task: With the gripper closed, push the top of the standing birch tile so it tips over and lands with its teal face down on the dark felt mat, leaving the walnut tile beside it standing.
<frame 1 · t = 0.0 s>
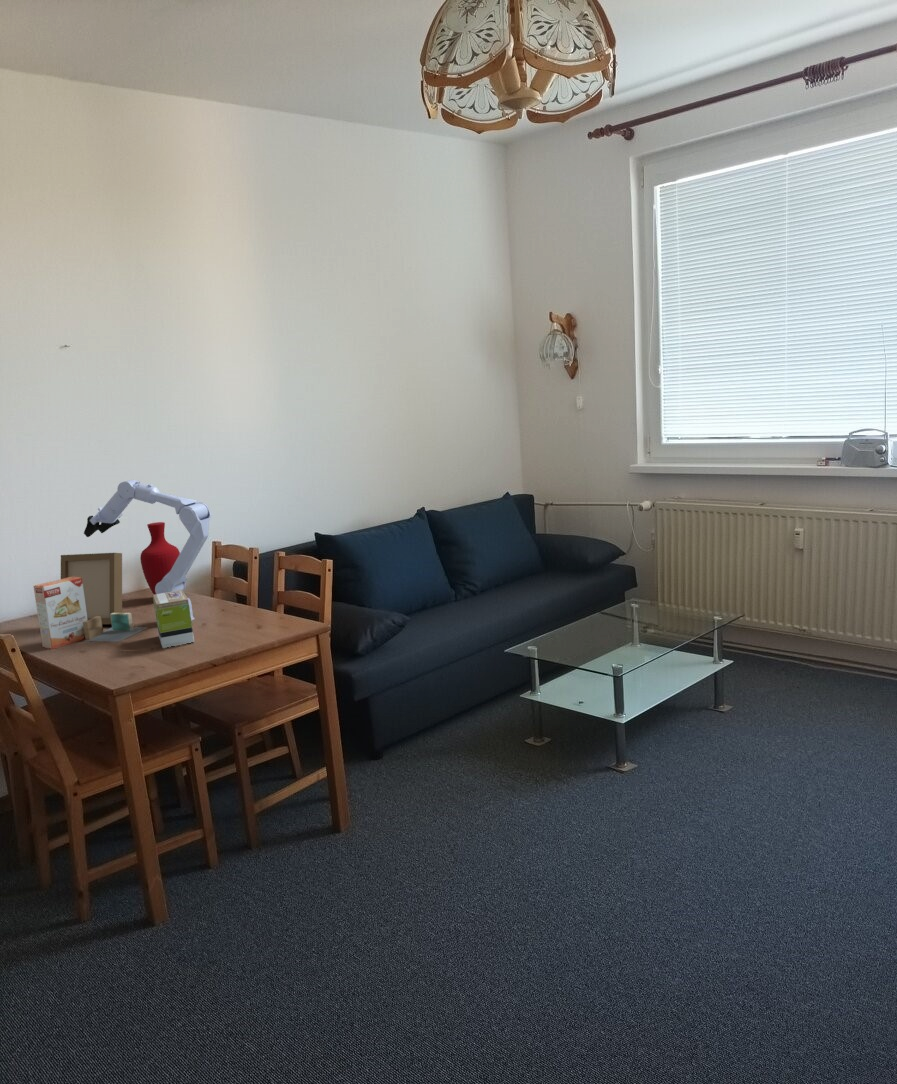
hand: (93, 533, 296), 32 cm above the table, tool tilted 50°, fingers open, 7 cm apart
tile teal: (123, 630, 288), resting on felt mat
vase: (166, 599, 332), on the table
felt mat: (115, 635, 284), on the table
photo frame: (100, 622, 303), on the table, touching felt mat
cracker box: (67, 643, 279), on the table
tile plain: (94, 636, 283), resting on felt mat
tea box: (176, 641, 273), on the table
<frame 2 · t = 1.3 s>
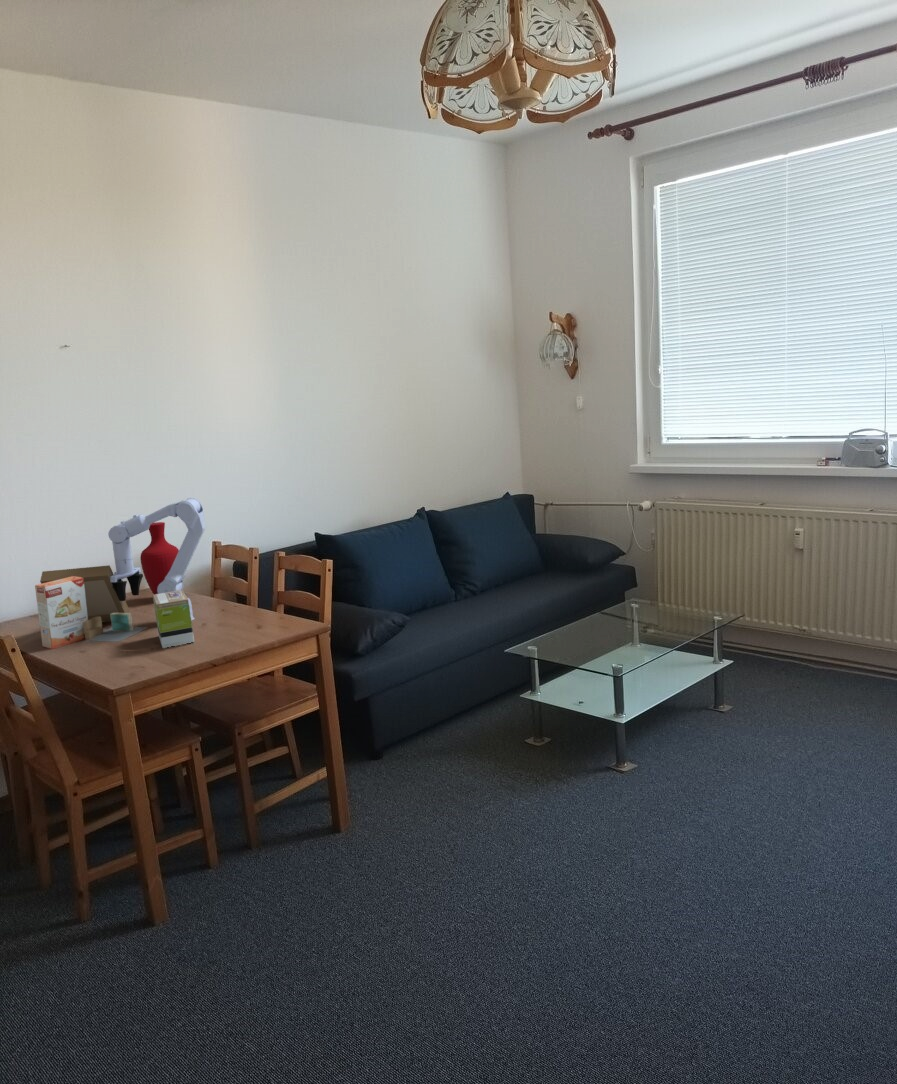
hand: (129, 597, 293), 10 cm above the table, tool pointing down, fingers open, 7 cm apart
photo frame: (98, 604, 305), point 6 cm above the table
everything else where it was.
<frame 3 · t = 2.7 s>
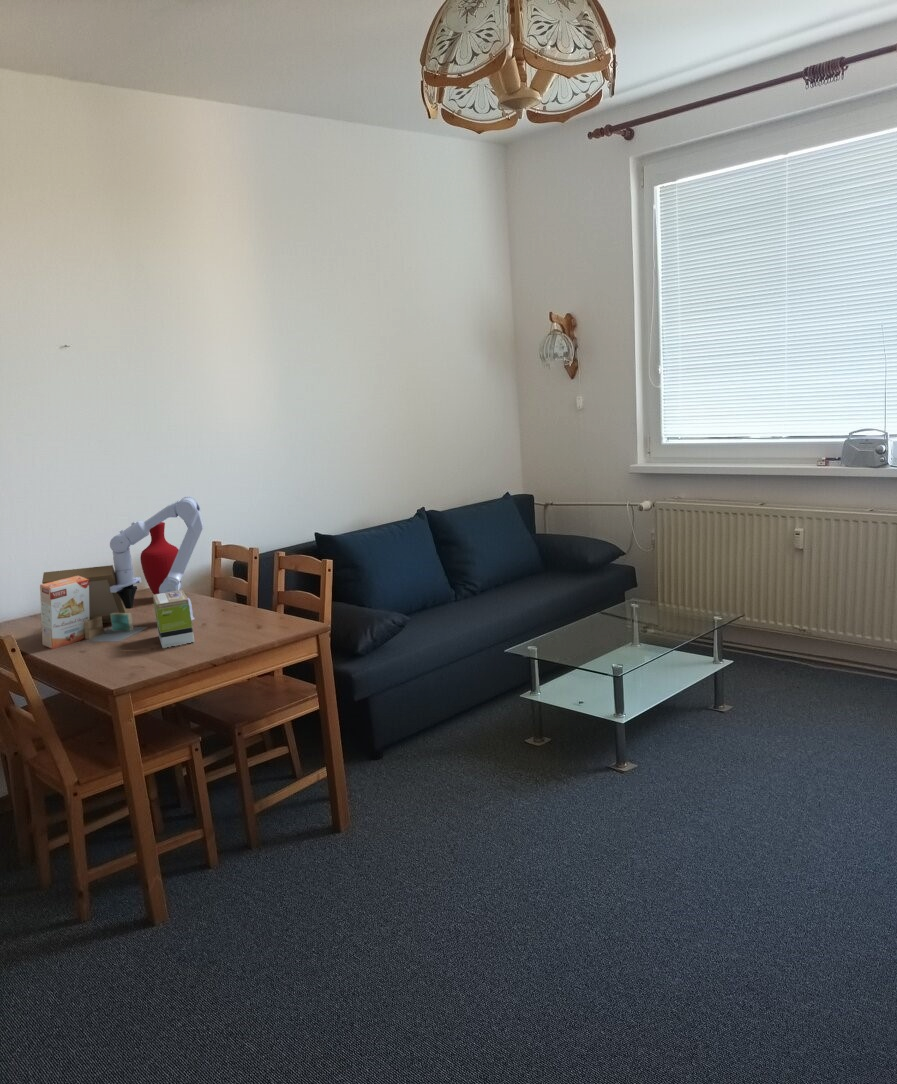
hand: (129, 608, 291), 7 cm above the table, tool pointing down, fingers closed
photo frame: (96, 606, 303), point 6 cm above the table
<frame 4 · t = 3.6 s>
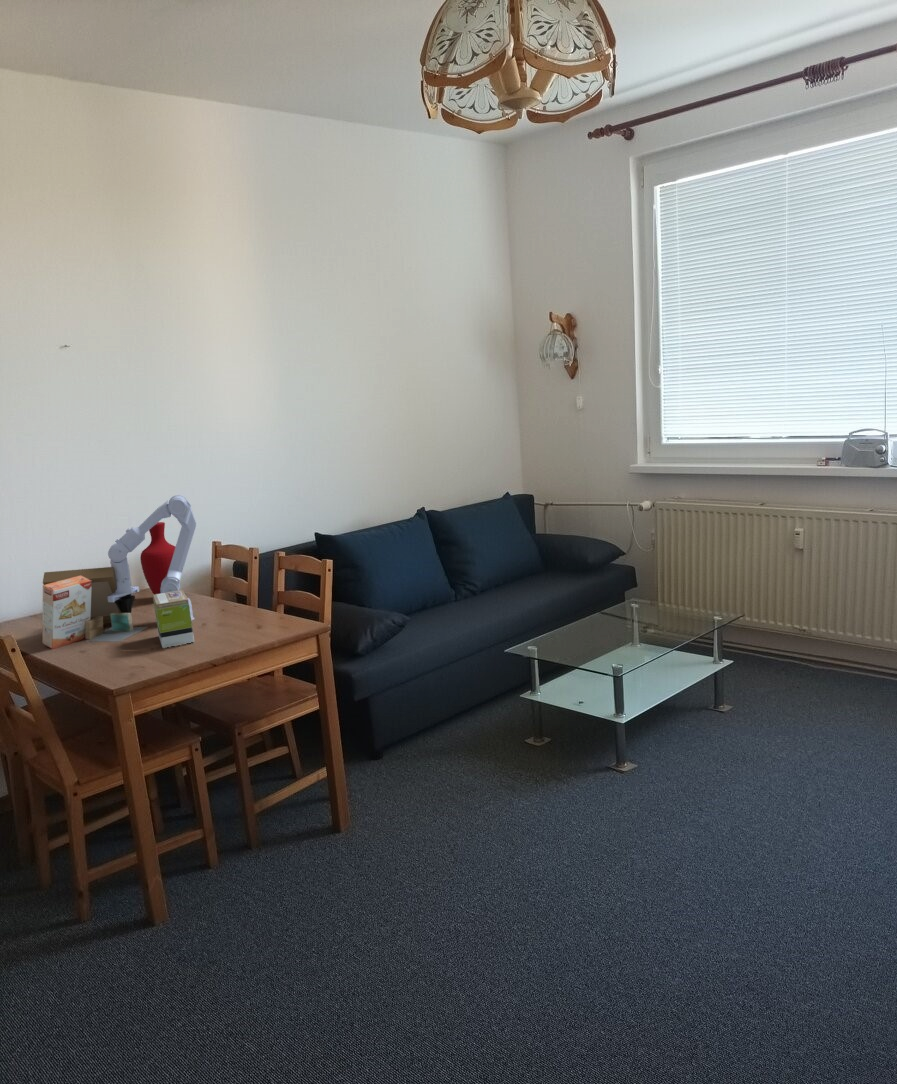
hand: (127, 617, 290), 4 cm above the table, tool pointing down, fingers closed
photo frame: (97, 605, 302), point 6 cm above the table, touching arm, cracker box
cracker box: (67, 641, 279), point 1 cm above the table, touching photo frame, tile plain
tile plain: (94, 636, 283), resting on felt mat, tilted 9°, touching cracker box
everything else where it was.
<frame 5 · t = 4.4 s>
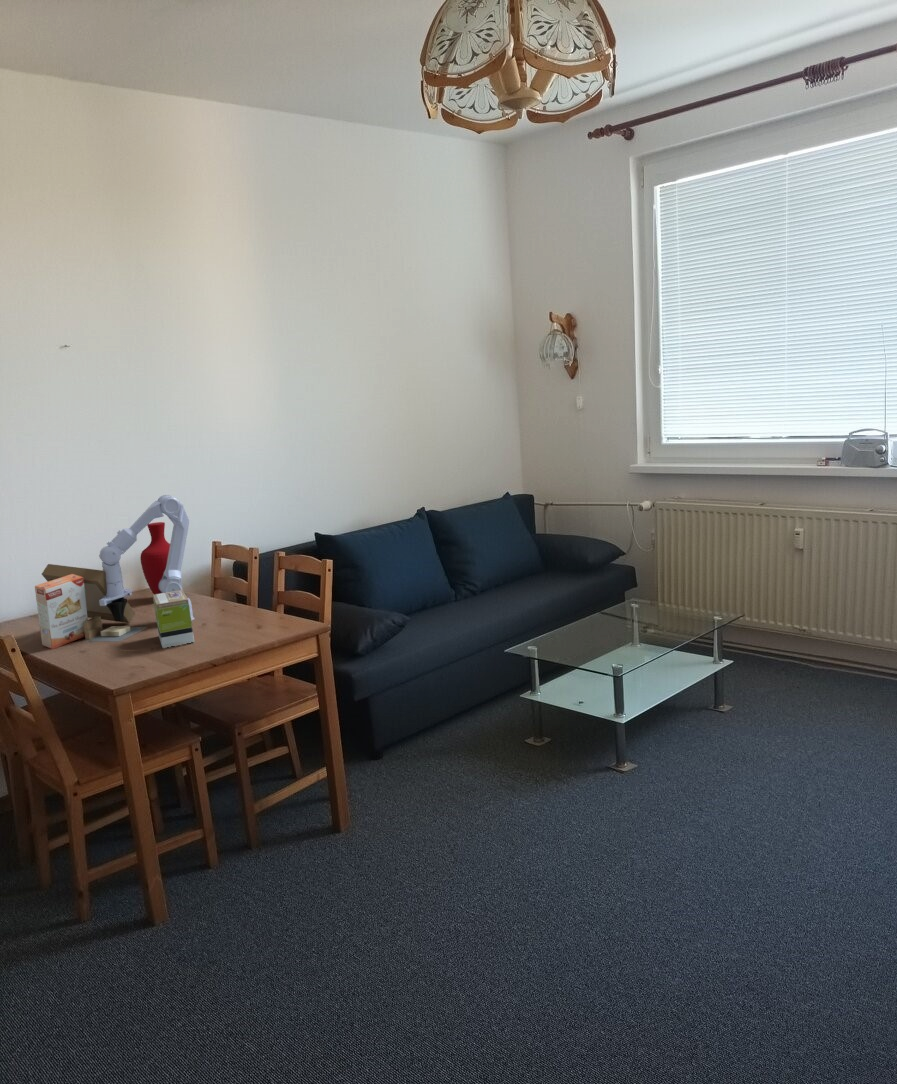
hand: (119, 621, 286), 4 cm above the table, tool pointing down, fingers closed
tile teal: (121, 628, 287), point 1 cm above the table, tilted 90°, touching felt mat
photo frame: (111, 601, 302), point 7 cm above the table, touching arm, cracker box
cracker box: (66, 640, 279), point 1 cm above the table, touching photo frame
tile plain: (94, 636, 283), resting on felt mat
everything else where it was.
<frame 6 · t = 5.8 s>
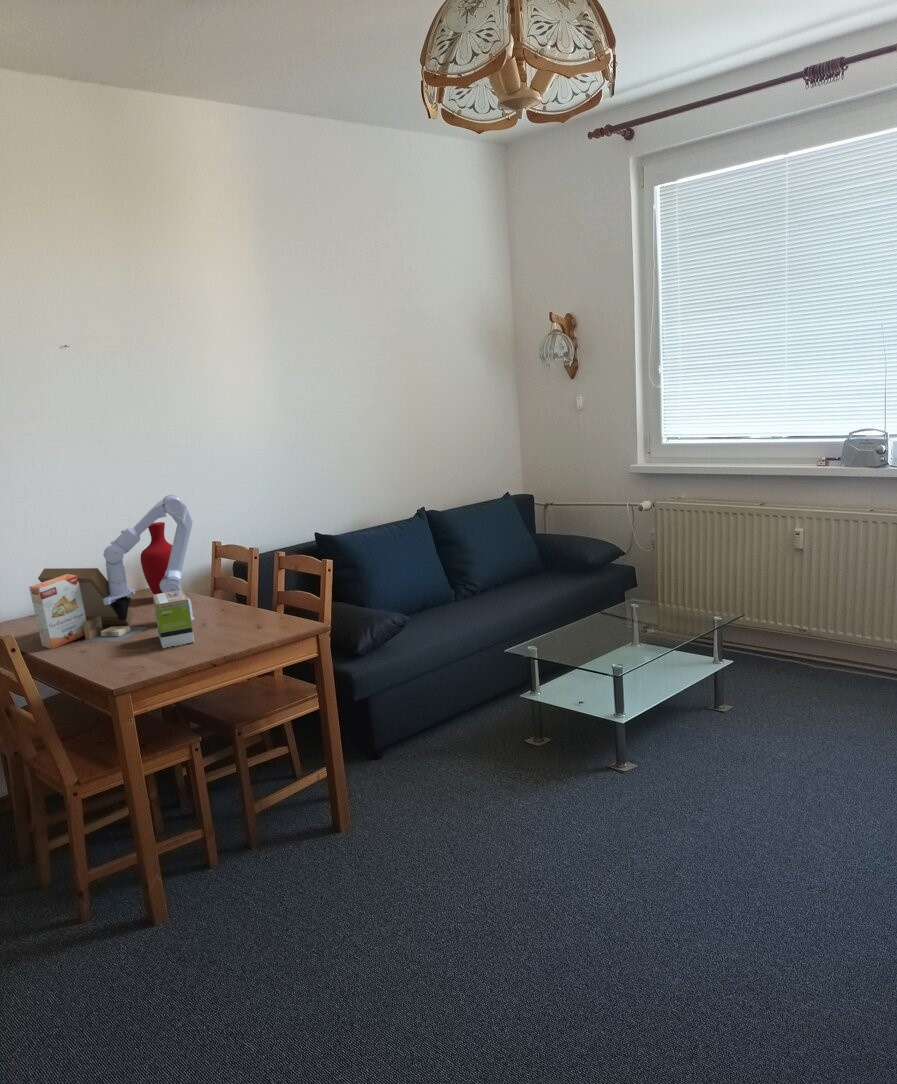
hand: (123, 619, 288), 4 cm above the table, tool pointing down, fingers closed
photo frame: (111, 605, 302), point 6 cm above the table, touching cracker box
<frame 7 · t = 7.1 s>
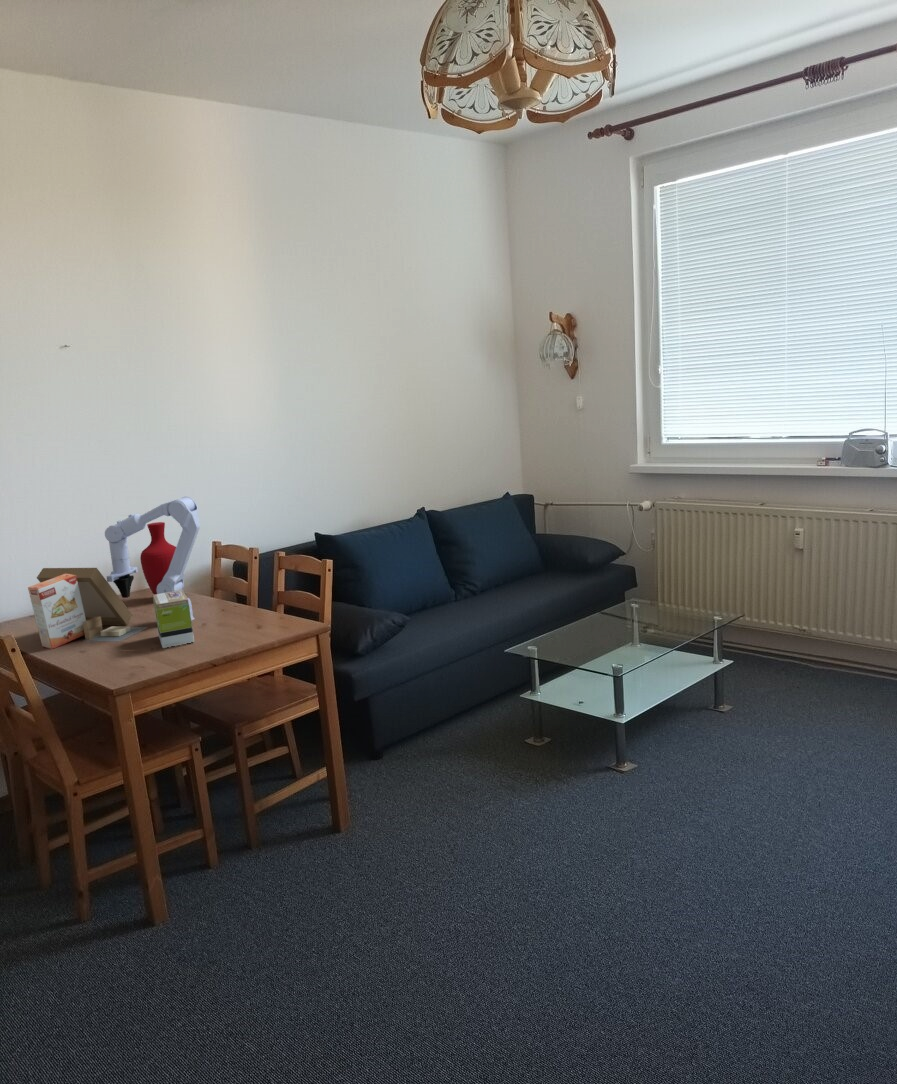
hand: (125, 597, 294), 10 cm above the table, tool pointing down, fingers closed
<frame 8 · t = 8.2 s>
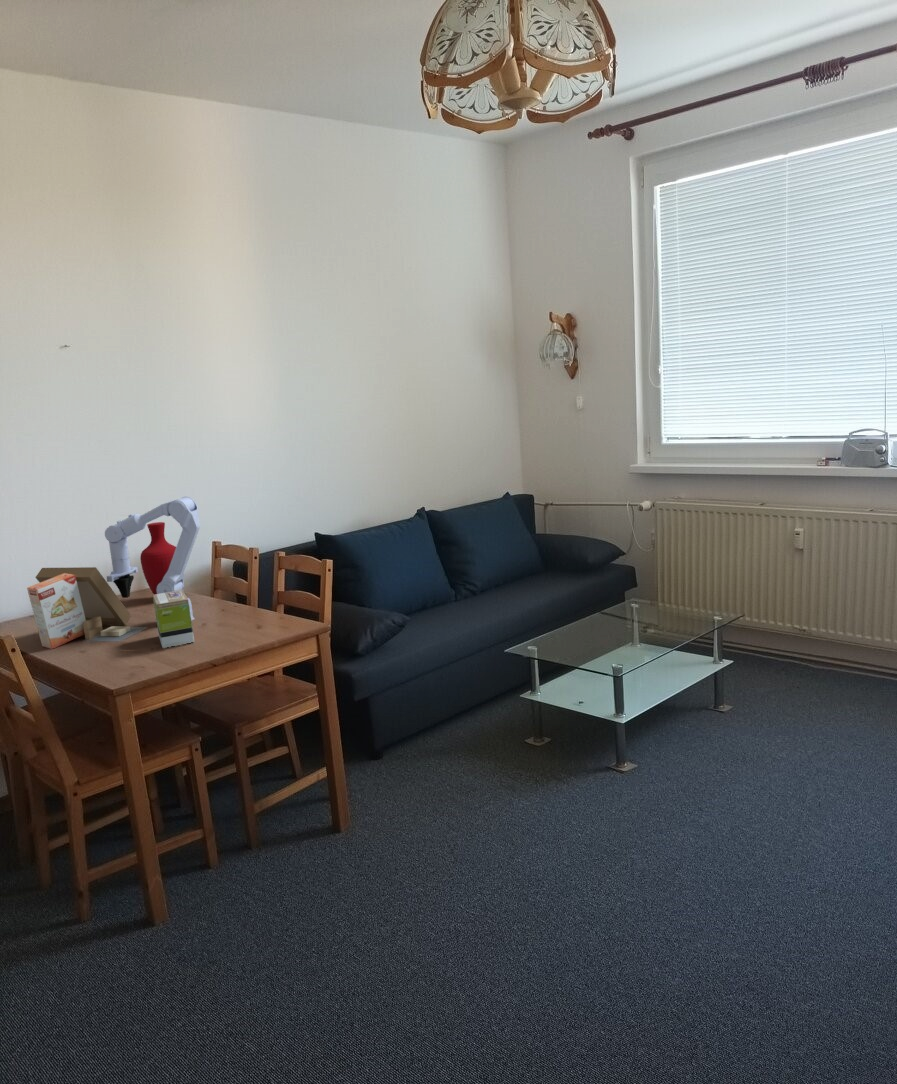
hand: (125, 597, 294), 10 cm above the table, tool pointing down, fingers closed
at the end: tile teal tilted 90°; tile teal inside the target area (3.6 cm from its centre), point 1.3 cm above the table; tile plain tilted 0° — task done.
